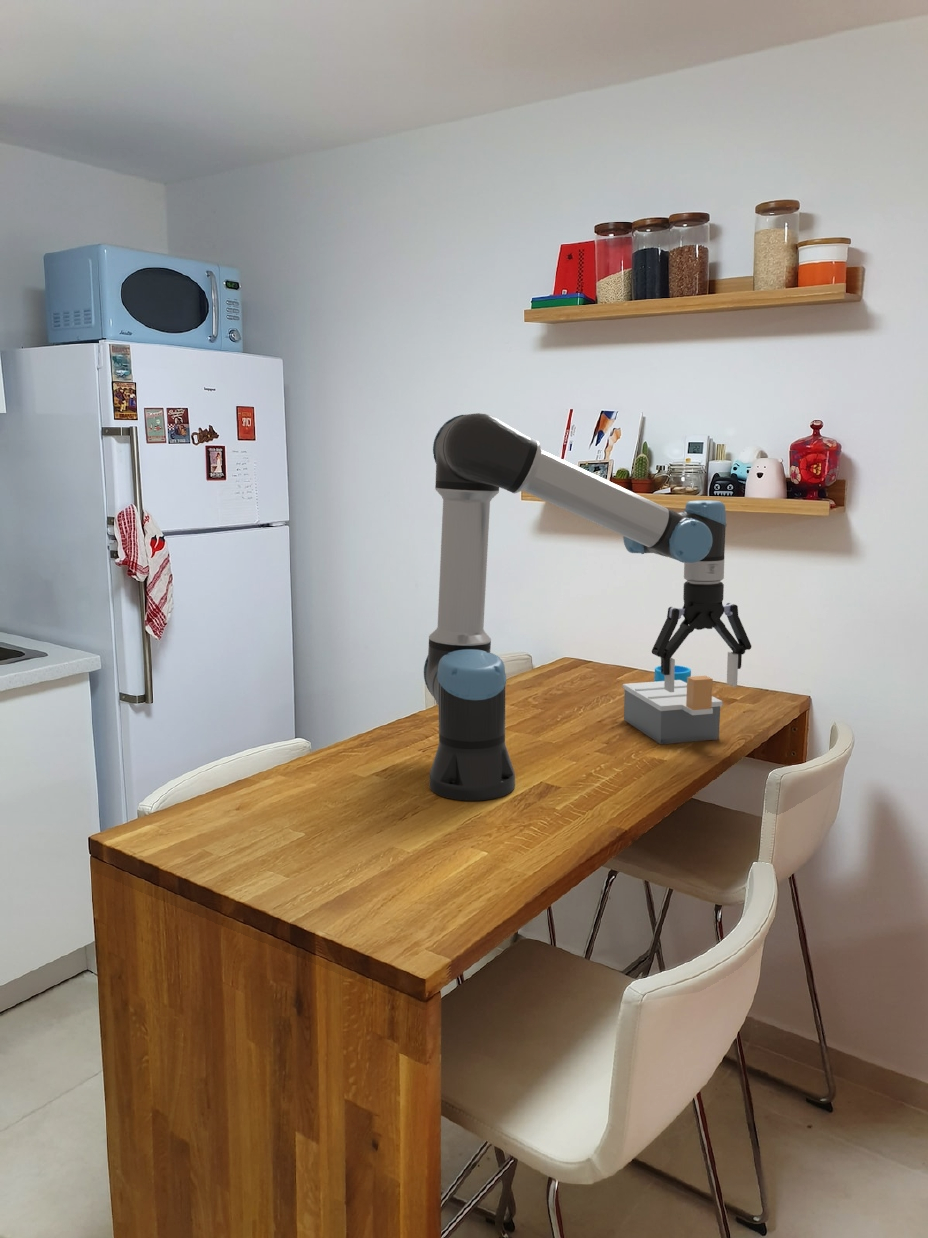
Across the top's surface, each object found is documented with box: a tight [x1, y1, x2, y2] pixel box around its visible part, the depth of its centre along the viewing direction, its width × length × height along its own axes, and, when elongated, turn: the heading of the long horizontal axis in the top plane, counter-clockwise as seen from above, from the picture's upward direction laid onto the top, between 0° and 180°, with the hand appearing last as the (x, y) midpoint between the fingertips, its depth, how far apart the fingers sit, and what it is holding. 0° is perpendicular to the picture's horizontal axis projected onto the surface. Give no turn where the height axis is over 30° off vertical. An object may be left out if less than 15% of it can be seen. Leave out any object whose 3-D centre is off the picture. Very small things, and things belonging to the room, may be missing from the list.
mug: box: [653, 665, 692, 683], centre depth 223 cm, size 12×8×8 cm
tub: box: [623, 689, 721, 745], centre depth 201 cm, size 13×18×7 cm
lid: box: [622, 675, 723, 715], centre depth 198 cm, size 14×23×7 cm, turn 14°
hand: (700, 688), depth 188 cm, fingers open, 13 cm apart
